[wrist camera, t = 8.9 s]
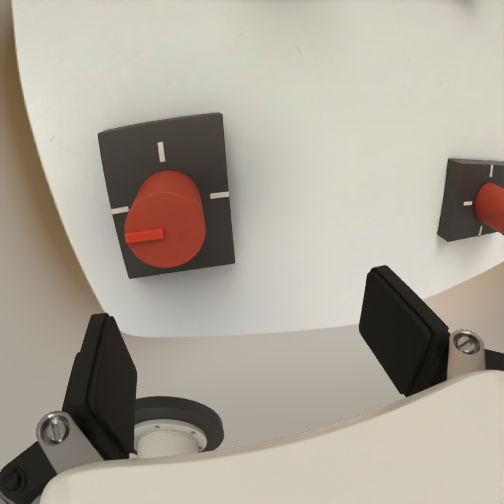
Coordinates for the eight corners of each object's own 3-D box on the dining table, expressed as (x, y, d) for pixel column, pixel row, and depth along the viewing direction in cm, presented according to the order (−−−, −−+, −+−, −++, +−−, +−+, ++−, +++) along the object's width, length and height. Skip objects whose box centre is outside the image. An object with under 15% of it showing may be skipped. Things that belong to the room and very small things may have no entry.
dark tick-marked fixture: (232, 252, 28) (235, 264, 26) (131, 267, 27) (128, 280, 25) (219, 112, 22) (222, 113, 20) (103, 130, 21) (96, 133, 19)
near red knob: (198, 166, 22) (201, 188, 17) (203, 227, 24) (210, 265, 19) (132, 175, 21) (116, 199, 16) (142, 235, 23) (132, 275, 18)
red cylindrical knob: (499, 182, 28) (534, 199, 23) (492, 218, 30) (525, 239, 25) (478, 182, 28) (515, 201, 22) (471, 222, 30) (505, 244, 25)
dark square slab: (504, 161, 30) (516, 166, 28) (493, 224, 34) (503, 231, 32) (448, 158, 28) (461, 163, 26) (437, 234, 32) (448, 242, 30)
